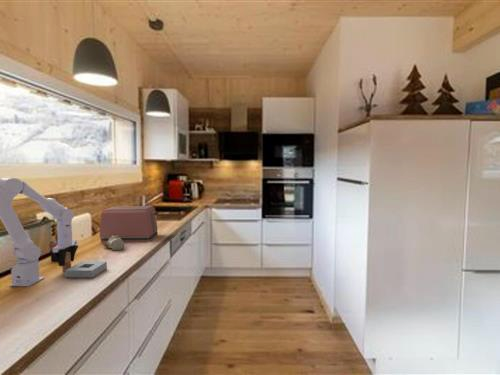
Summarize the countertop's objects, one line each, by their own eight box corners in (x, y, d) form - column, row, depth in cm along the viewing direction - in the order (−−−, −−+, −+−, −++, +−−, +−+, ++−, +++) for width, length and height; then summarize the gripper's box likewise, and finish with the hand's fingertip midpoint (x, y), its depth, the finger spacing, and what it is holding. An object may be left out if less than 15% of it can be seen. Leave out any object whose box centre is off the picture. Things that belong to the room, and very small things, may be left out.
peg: (68, 271, 143) (67, 254, 143) (60, 271, 144) (59, 254, 143) (73, 269, 147) (72, 252, 146) (65, 268, 147) (64, 252, 146)
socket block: (92, 278, 134) (91, 270, 134) (65, 278, 135) (64, 270, 135) (106, 269, 146) (106, 261, 146) (82, 268, 147) (81, 261, 147)
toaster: (153, 242, 196) (152, 209, 194) (98, 243, 195) (96, 210, 194) (161, 235, 215) (160, 205, 213) (111, 235, 214) (110, 206, 213)
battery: (67, 257, 166) (66, 238, 165) (59, 261, 159) (58, 242, 158) (58, 257, 166) (57, 238, 165) (50, 261, 159) (49, 242, 158)
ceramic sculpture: (107, 237, 173) (101, 233, 184) (108, 252, 173) (102, 248, 185) (127, 234, 179) (120, 231, 191) (128, 249, 179) (121, 245, 191)
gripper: (62, 238, 136) (64, 268, 138) (82, 230, 151) (84, 258, 152) (47, 238, 137) (49, 268, 138) (68, 230, 151) (70, 258, 152)
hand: (66, 263), depth 145 cm, fingers open, 6 cm apart
